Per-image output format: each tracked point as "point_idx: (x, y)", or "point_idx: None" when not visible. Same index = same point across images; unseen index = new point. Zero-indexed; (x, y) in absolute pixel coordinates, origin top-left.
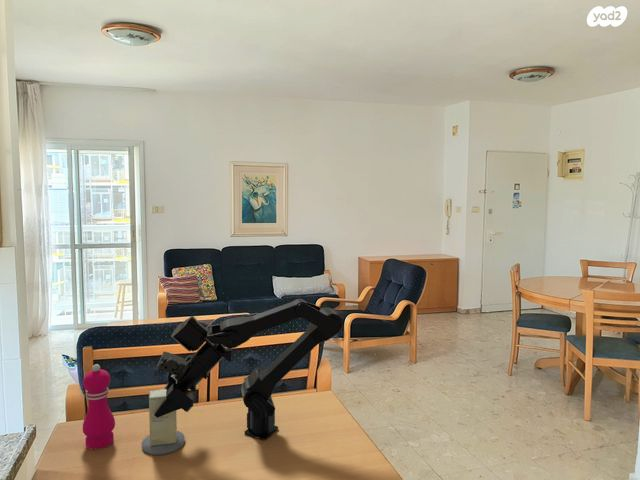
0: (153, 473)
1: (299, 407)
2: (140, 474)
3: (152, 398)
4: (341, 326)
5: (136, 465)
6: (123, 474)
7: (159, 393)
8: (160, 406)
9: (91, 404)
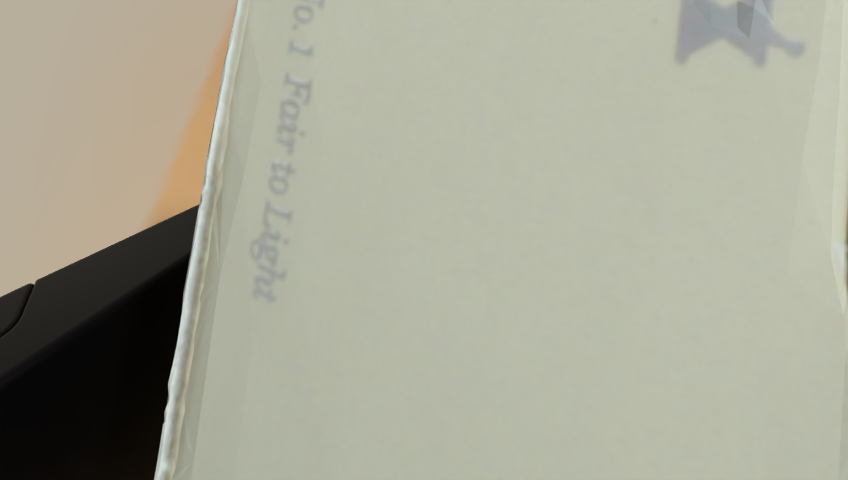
0: (162, 215)
1: None
2: (187, 127)
3: (244, 29)
4: None
5: None
6: (233, 12)
7: (459, 250)
8: (93, 257)
9: None
